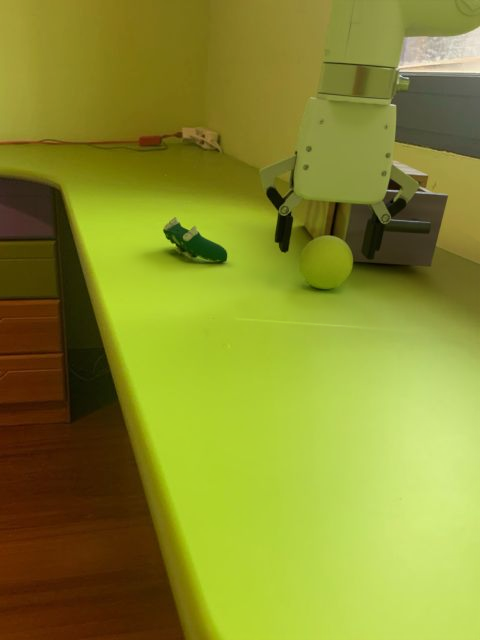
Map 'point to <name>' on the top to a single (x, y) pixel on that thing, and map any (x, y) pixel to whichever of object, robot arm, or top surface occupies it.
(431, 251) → the drawer
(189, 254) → the green shoe
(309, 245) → the ball
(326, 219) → the cabinet
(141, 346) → the top surface
